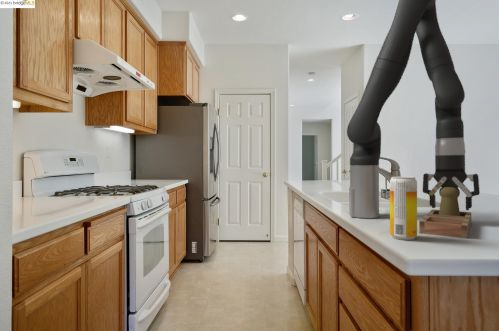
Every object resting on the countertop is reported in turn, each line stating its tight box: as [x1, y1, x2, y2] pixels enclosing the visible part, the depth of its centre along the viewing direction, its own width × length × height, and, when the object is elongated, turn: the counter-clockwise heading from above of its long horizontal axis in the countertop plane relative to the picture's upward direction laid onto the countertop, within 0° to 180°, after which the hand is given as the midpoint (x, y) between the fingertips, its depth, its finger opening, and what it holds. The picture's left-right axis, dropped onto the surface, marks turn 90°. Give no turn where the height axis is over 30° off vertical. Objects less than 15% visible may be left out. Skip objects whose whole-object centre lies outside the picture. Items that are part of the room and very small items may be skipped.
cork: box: [438, 187, 461, 216], centre depth 97 cm, size 6×6×11 cm
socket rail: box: [418, 209, 472, 239], centre depth 91 cm, size 23×10×3 cm, turn 144°
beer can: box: [389, 175, 418, 241], centre depth 80 cm, size 6×6×15 cm
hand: (450, 208), depth 96 cm, fingers open, 8 cm apart
